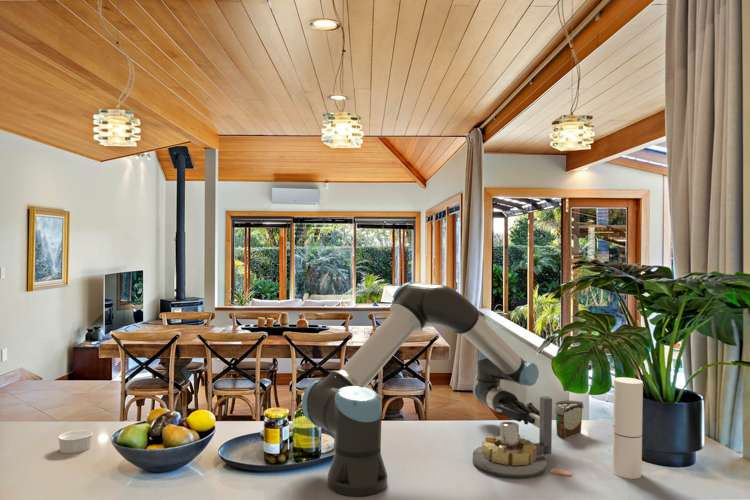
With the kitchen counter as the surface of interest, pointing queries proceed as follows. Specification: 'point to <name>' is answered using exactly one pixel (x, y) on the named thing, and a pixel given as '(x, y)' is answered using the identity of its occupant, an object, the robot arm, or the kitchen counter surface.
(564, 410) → the food container
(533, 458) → the geared hub with post
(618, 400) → the cylindrical container
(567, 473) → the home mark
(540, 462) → the flange
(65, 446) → the ramekin
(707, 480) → the kitchen counter surface
